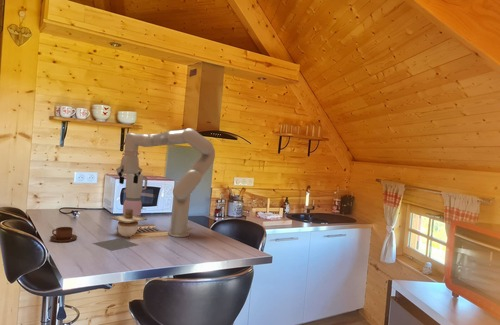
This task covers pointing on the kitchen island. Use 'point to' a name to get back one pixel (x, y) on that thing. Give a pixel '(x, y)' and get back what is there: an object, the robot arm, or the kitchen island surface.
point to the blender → (134, 194)
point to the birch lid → (128, 217)
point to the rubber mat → (115, 244)
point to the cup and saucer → (63, 234)
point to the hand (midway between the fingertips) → (128, 183)
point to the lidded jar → (127, 228)
